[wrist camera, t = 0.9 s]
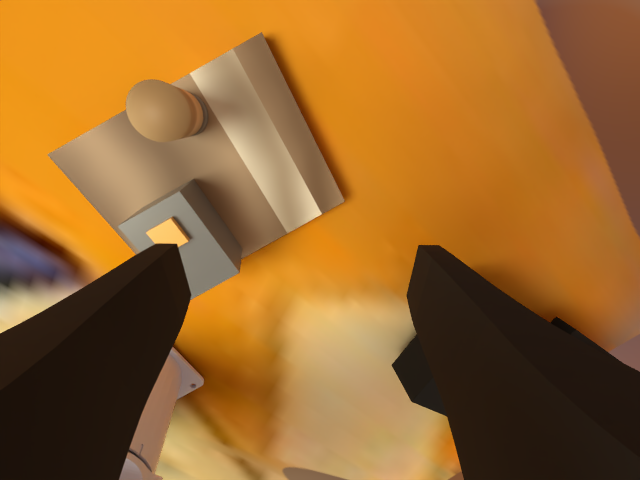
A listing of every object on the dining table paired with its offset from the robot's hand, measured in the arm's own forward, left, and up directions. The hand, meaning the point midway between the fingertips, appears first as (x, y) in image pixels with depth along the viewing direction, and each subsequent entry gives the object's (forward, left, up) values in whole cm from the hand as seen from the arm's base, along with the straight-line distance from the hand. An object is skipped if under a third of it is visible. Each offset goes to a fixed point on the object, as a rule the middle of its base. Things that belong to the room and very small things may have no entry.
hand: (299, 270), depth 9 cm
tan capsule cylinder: (-3, +7, -14) cm, 15 cm away
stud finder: (-7, 0, -14) cm, 15 cm away
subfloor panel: (-4, +2, -15) cm, 15 cm away
